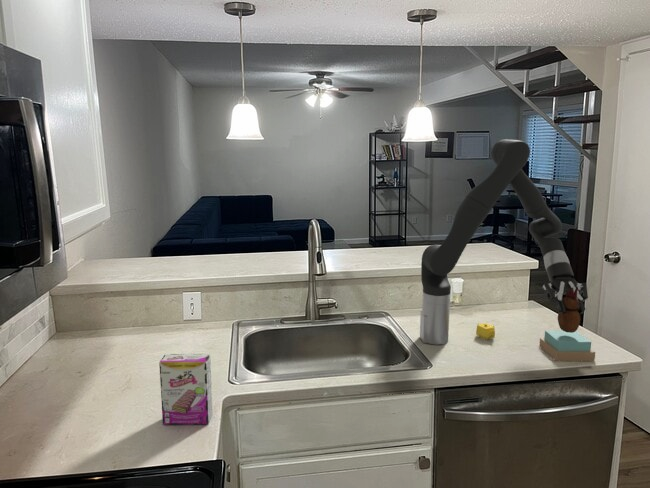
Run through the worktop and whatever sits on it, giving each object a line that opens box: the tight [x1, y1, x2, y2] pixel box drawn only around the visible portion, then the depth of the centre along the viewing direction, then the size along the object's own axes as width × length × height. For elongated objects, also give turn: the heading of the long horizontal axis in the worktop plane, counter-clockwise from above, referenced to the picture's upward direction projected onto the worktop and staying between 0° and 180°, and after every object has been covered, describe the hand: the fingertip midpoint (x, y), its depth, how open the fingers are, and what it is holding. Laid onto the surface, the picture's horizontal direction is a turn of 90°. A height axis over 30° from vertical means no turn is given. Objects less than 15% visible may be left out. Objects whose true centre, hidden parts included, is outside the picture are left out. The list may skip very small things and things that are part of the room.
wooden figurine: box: [557, 287, 581, 333], centre depth 155 cm, size 7×6×15 cm
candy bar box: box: [158, 353, 213, 426], centre depth 117 cm, size 11×5×16 cm, turn 92°
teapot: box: [475, 323, 496, 341], centre depth 171 cm, size 8×6×5 cm
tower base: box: [538, 330, 596, 362], centre depth 157 cm, size 12×12×6 cm
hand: (572, 312), depth 154 cm, fingers closed on wooden figurine, 5 cm apart
